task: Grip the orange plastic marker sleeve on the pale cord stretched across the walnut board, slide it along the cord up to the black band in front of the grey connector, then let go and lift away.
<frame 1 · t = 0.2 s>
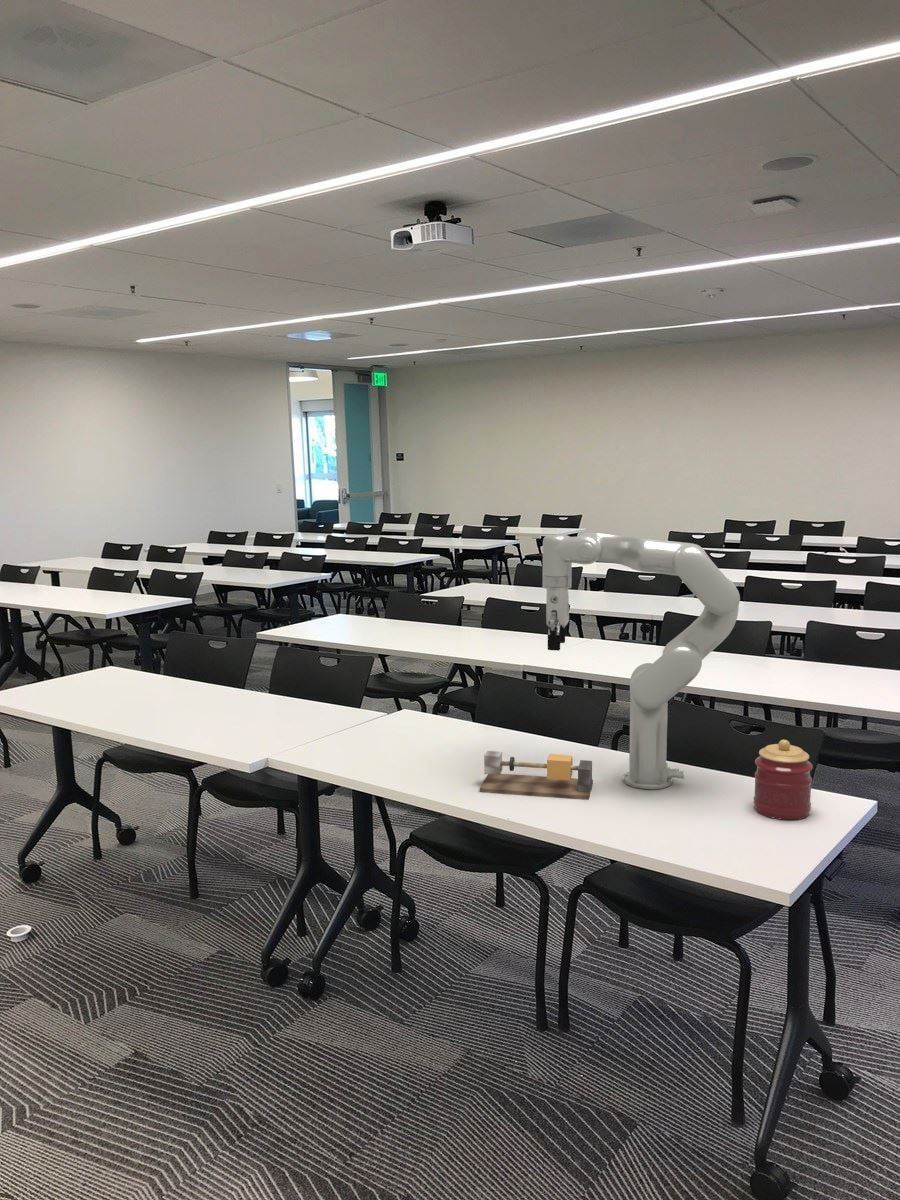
hand: (556, 646, 238), 36 cm above the table, tool pointing down, fingers open, 9 cm apart
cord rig: (536, 787, 235), on the table
marker sleeve: (559, 766, 233), point 6 cm above the table, slide at 0.0 cm
canister: (781, 811, 217), on the table
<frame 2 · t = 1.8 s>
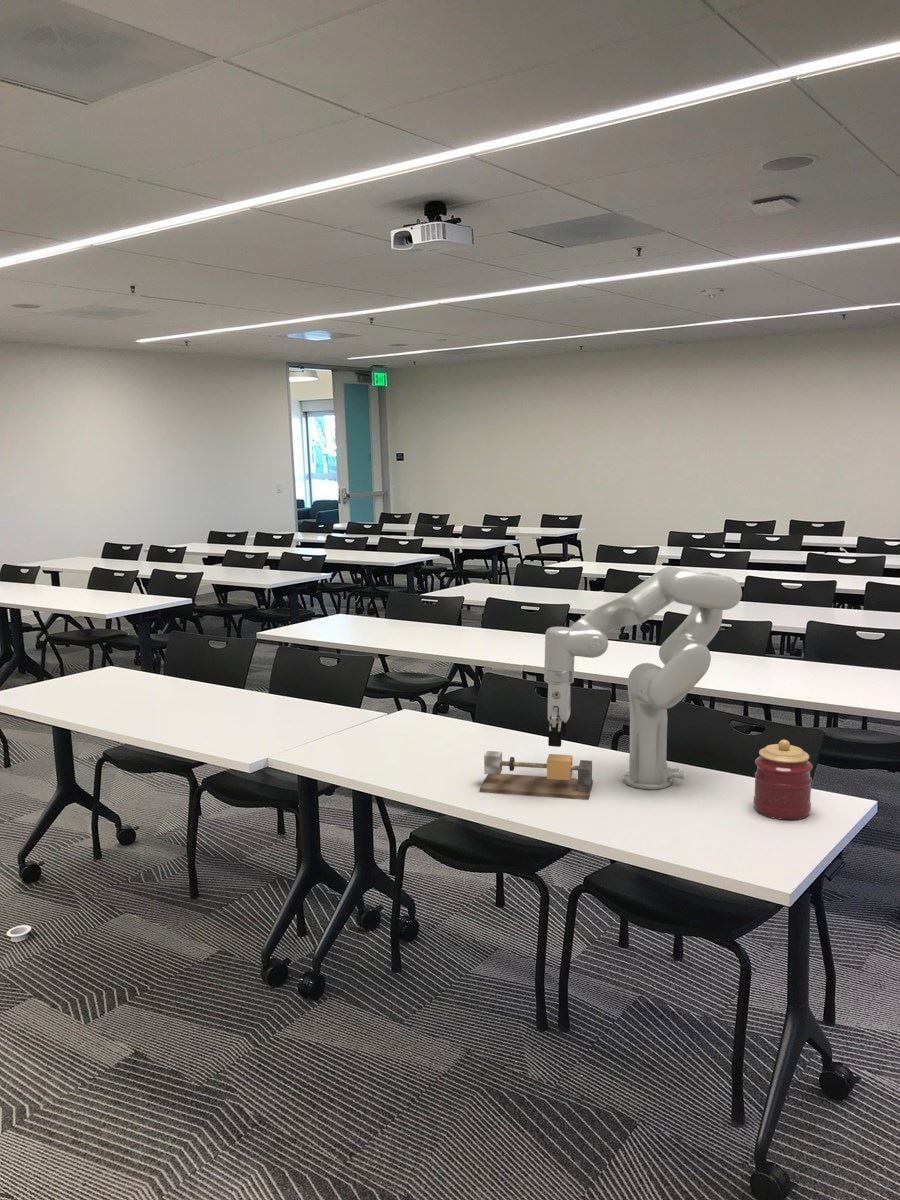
hand: (557, 740, 232), 13 cm above the table, tool pointing down, fingers open, 9 cm apart
nothing on the table moved.
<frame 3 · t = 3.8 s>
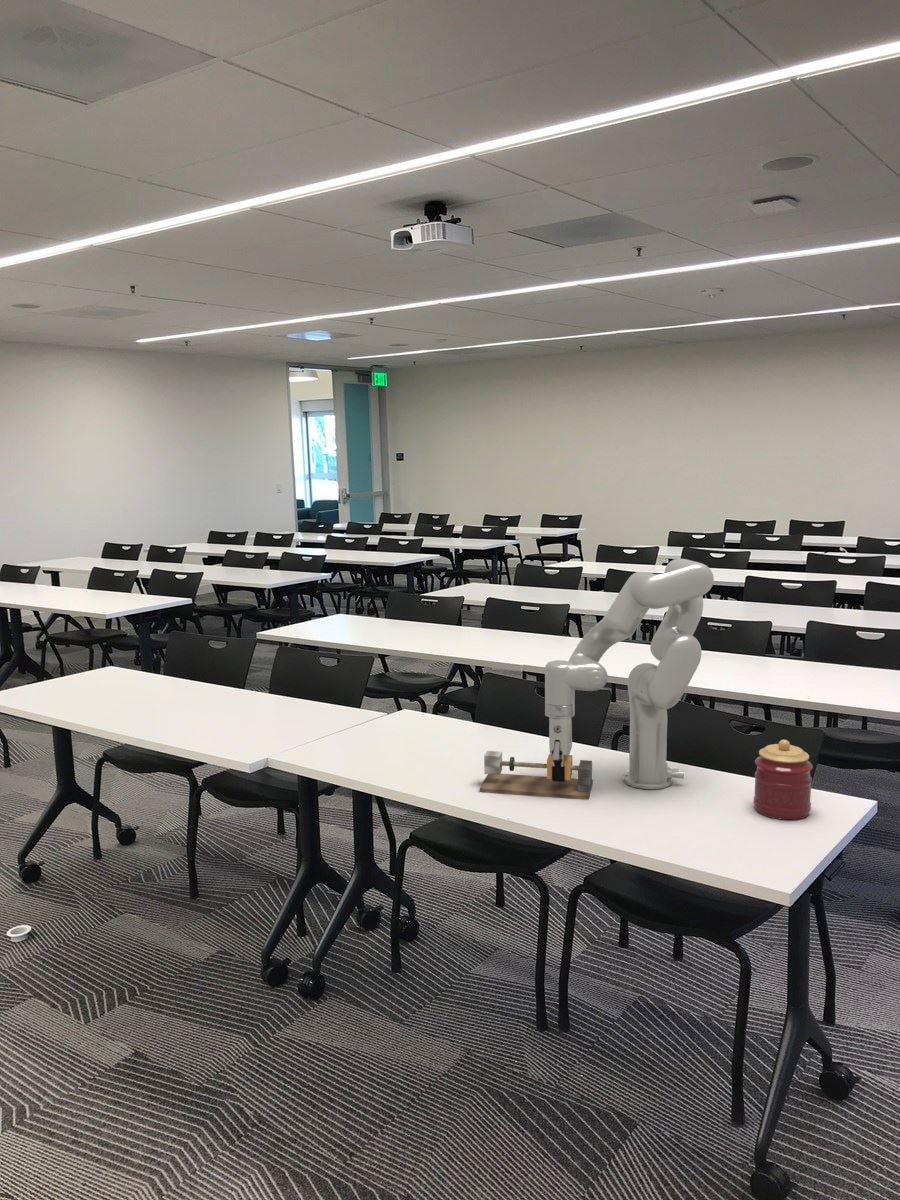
hand: (559, 776, 233), 3 cm above the table, tool pointing down, fingers closed on marker sleeve, 5 cm apart
marker sleeve: (559, 766, 233), point 6 cm above the table, slide at 0.0 cm, touching gripper
everything else where it was.
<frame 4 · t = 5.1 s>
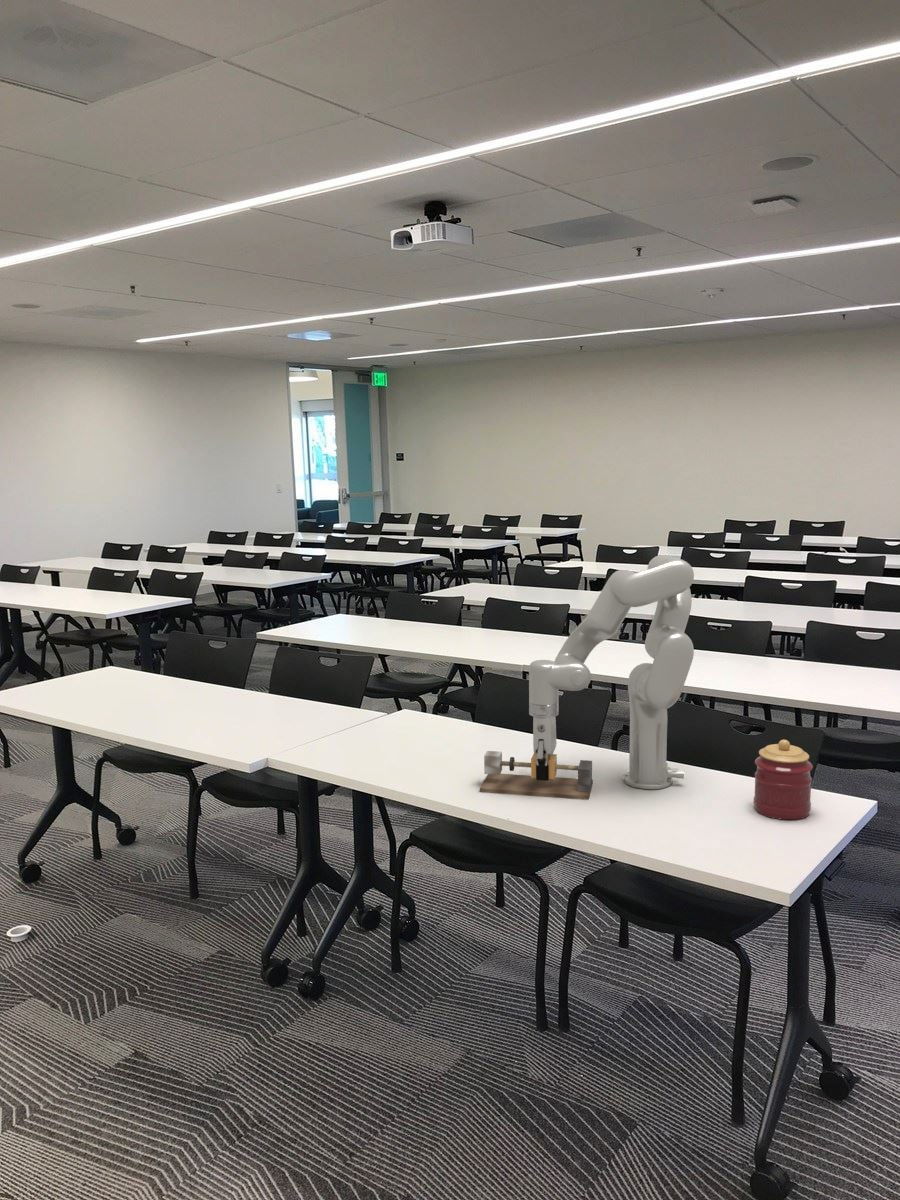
hand: (543, 775, 234), 3 cm above the table, tool pointing down, fingers closed on marker sleeve, 5 cm apart
marker sleeve: (544, 765, 234), point 6 cm above the table, slide at 4.1 cm, touching gripper
everything else where it was.
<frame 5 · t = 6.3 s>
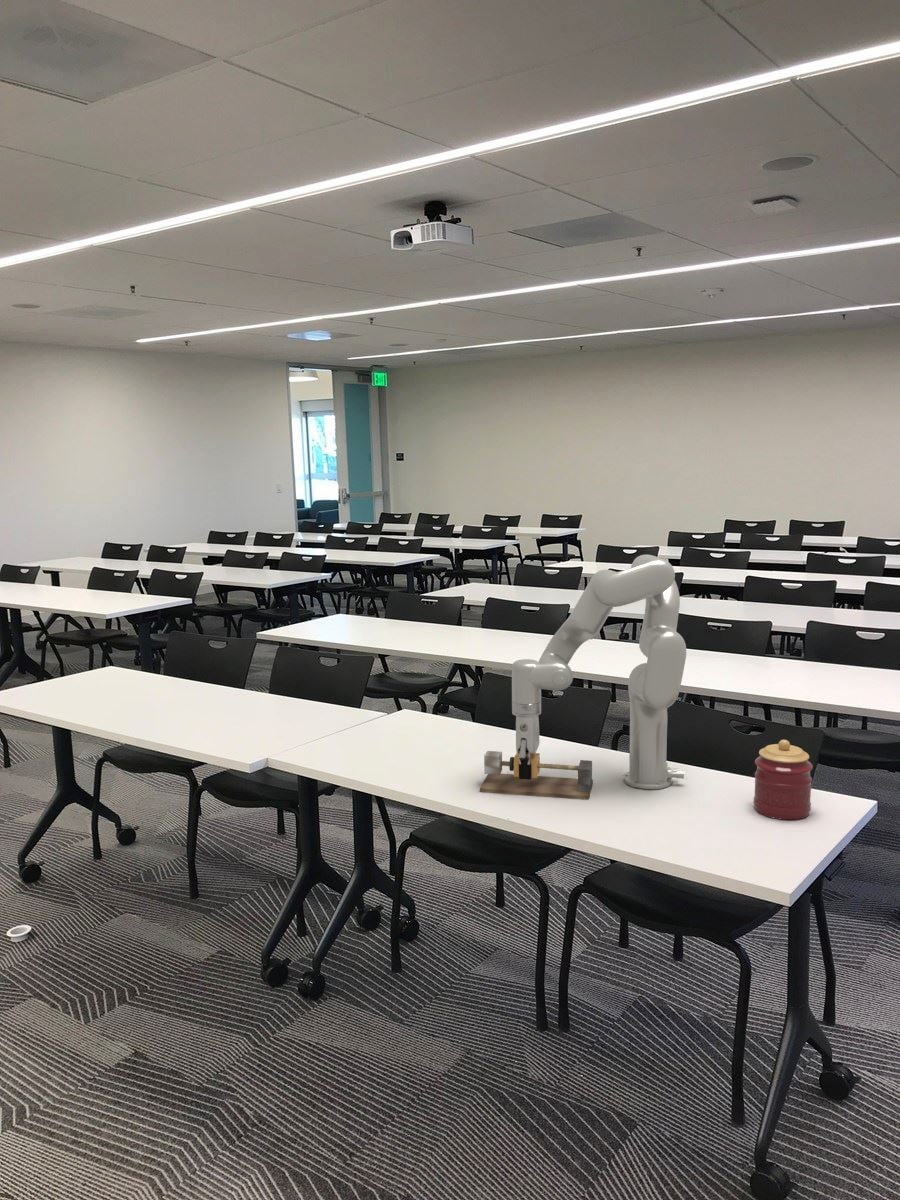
hand: (526, 774, 236), 3 cm above the table, tool pointing down, fingers closed on marker sleeve, 5 cm apart
marker sleeve: (526, 764, 235), point 6 cm above the table, slide at 8.6 cm, touching gripper
everything else where it was.
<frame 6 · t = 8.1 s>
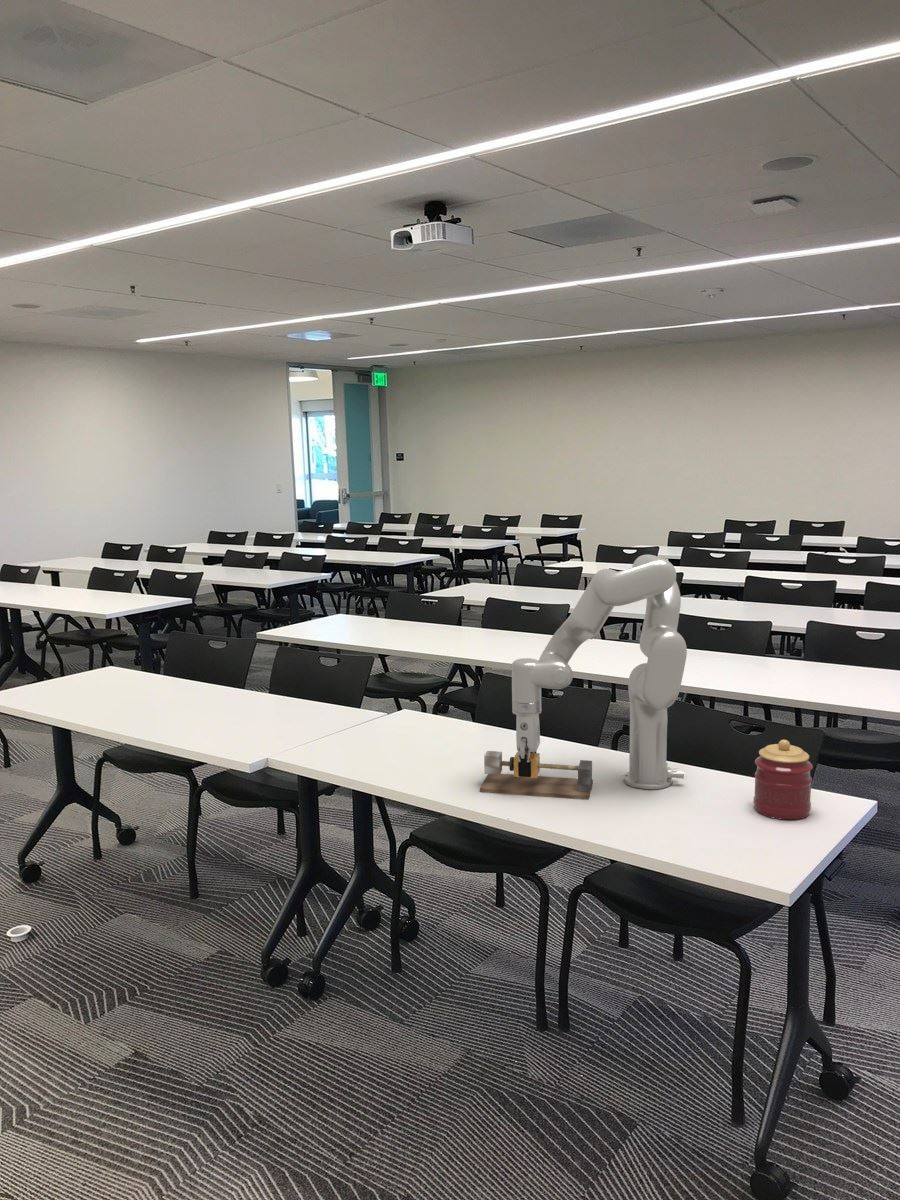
hand: (527, 770, 235), 5 cm above the table, tool pointing down, fingers open, 9 cm apart
marker sleeve: (526, 764, 235), point 6 cm above the table, slide at 8.6 cm
everything else where it was.
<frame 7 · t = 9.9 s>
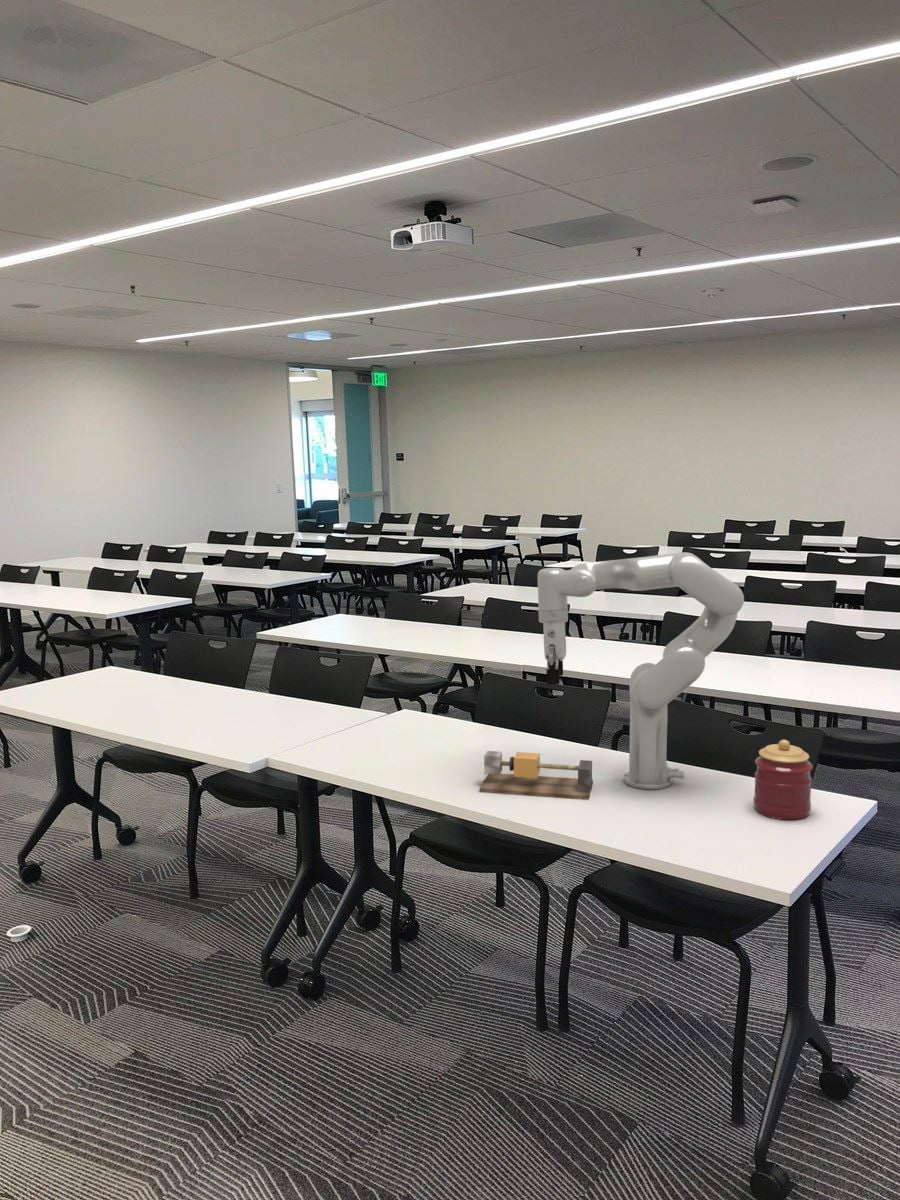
hand: (555, 679, 237), 27 cm above the table, tool pointing down, fingers open, 9 cm apart
nothing on the table moved.
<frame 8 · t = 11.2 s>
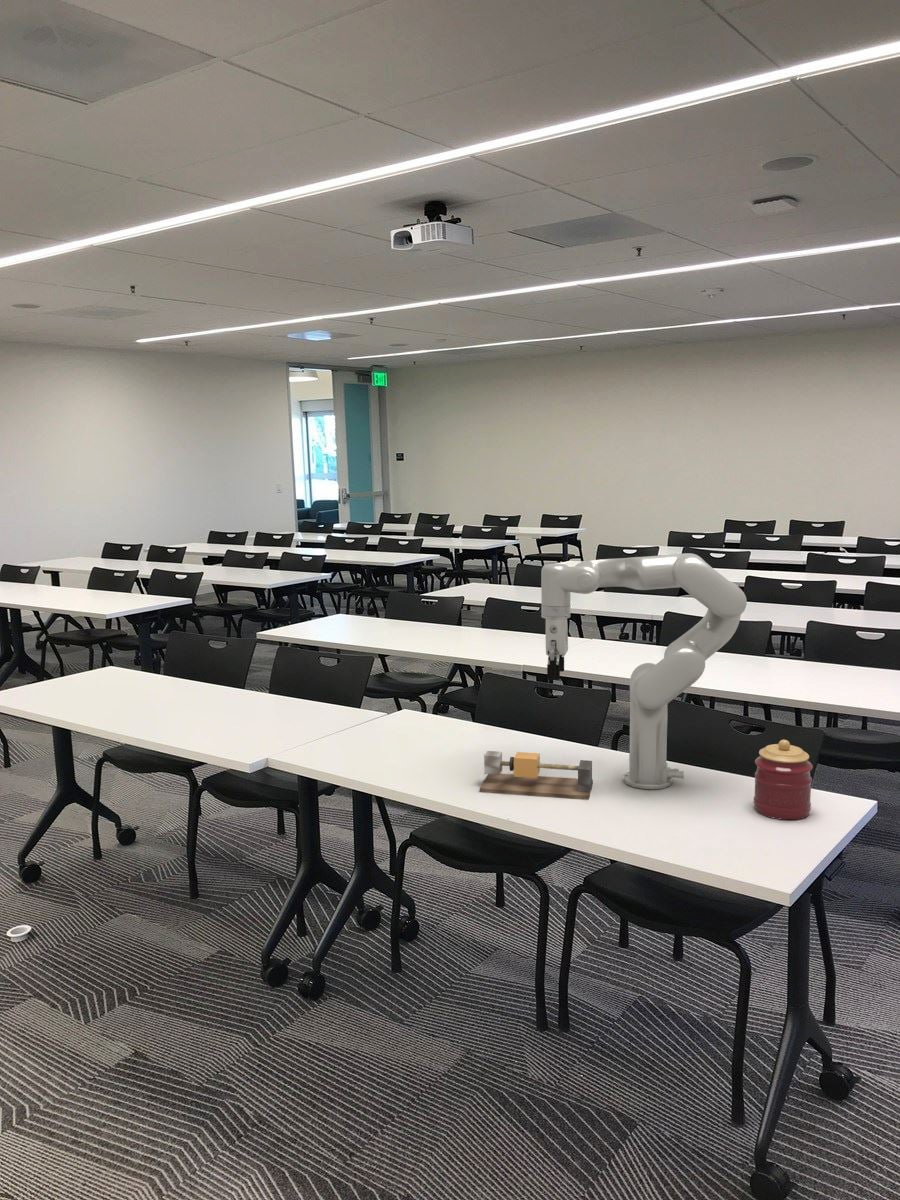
hand: (555, 675, 238), 28 cm above the table, tool pointing down, fingers open, 9 cm apart
nothing on the table moved.
at the end: marker sleeve slide at 8.6 cm; the gripper is holding nothing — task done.
